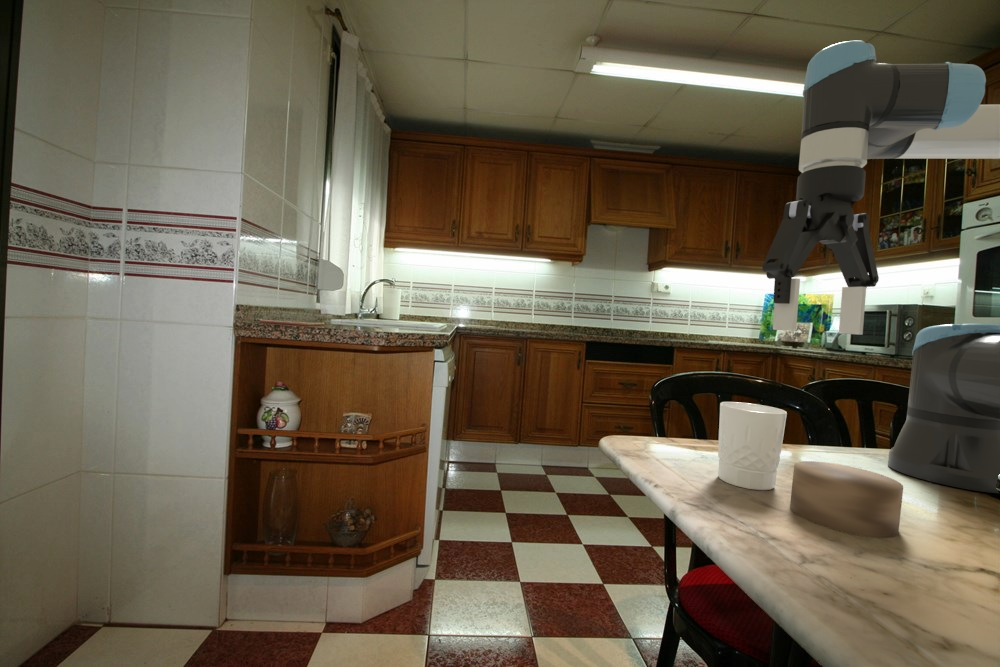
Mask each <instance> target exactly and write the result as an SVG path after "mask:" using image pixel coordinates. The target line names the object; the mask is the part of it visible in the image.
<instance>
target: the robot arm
mask: <svg viewBox="0 0 1000 667" xmlns="http://www.w3.org/2000/svg"><path fill="white" fill-rule="evenodd" d="M876 61H877V55H876V50H875V47H874V45H873V44H872V43H869V42H867V43H866V42H865V41H864V40H849V41H842V42H838V43H835V44H831V45H829V46H827V47H825V48H823V49H821V50H820V51H818V52H817V53H816V54H815V55H813V57H812V58H811V59H810V61H809V62H808V64H807V68H806V73H805V77H804V78H805V79H804V86H803V91H802V96H803V97H802V98H803V100H802V101H803V102H802V118H801V119H802V120H801V122H802V123H801V135H800V149H799V150H800V151H799V162H798V171H799V172H800V174H799V175H798V177H797V181H796V182H797V183H796V197H795V201H790V202H787V203H786V204H785V205H784V210H783V215H782V220H781V223H780V225H779V227H778V229H777V232H776V234H775V236H774V238H773V241H772V243H771V245H770V248H769V250H768V252H767V254H766V257H765V259H764V261H763V264H762V271H763V272H764V273H765V274H766V278H768V279H769V280H771V279H774V286H773V299H772V300H773V303H774V305H773V306H774V307H773V321H772V330H773V331H774V330H775V331H793V332H797V326H798V312H799V299H800V286H801V284H800V283H801V279H800V278H796V277H795V276H796V275H797V273H798V272H799V271H800V269H801V267H802V266H803V265H804V263H805V262H806V261H807V259H808V257H809V256H810V254H811V253H812V252H813V250H814V249H815V247H816V246H817V244H818V243H821V244H822V245H826V247H827V248H828V249H831V251H832V253H833V256H834V258H835V259H836V262H837V264H838V266H839V269H840V271H841V273H842V276H843V279H844V281H845V283H846V285H847V286H842V287H841V288H842V289H841V298H840V299H841V300H840V301H841V302H840V314H839V325H838V334H840V335H842V334H844V335H857V336H858V335H862V336H863V334H864V320H865V310H866V309H865V308H866V297H867V295H866V294H867V289H868V288H869V287H870V288H871V287H872V288H873V287H874V288H875V287H876V286H877V284H878V282H879V279H880V278H879V273H878V268H877V264H876V260H875V259H876V258H875V254H874V249H873V244H872V240H871V235H870V230H869V229H870V226H869V225H870V224H869V223H870V221H869V220H870V216H869V214H868V213H867V212H864V213H863V212H862V213H858V214H857V213H856V214H855V213H854V208H853V206H854V204H855V203H856V202H859V201H860V200H862V198H863V197H864V196H865V186H866V185H865V184H866V174H867V172H866V170H865V169H864V167H865V166H866V165H867V164H868V160H871V159H872V160H875V159H876V160H879V159H880V160H881V159H882V160H883V159H884V160H885V159H887V160H889V159H895V160H896V159H901V160H902V159H906V160H907V159H908V160H909V159H911V160H912V159H914V160H915V159H917V160H918V159H919V160H920V159H921V160H922V159H924V160H925V159H926V160H927V159H928V160H929V159H931V160H932V159H935V160H936V159H944V160H945V159H946V160H947V159H949V160H952V159H955V160H956V159H957V160H958V159H959V160H960V159H961V160H962V159H963V160H966V159H968V160H969V159H971V160H972V159H975V160H980V159H983V160H987V159H989V160H990V159H991V160H992V159H993V160H1000V104H999V103H998V104H997V103H996V104H981V103H982V101H983V99H984V96H985V94H986V83H987V78H986V74H985V72H984V70H983V69H982V68H981V67H980V66H978V65H976V64H972V63H969V64H968V63H953V62H950V61H945V62H937V63H936V62H933V63H930V62H929V63H925V62H924V63H895V64H894V63H893V64H892V63H885V62H883V63H882V62H881V63H880V62H876ZM911 355H912V362H911V363H912V364H911V371H910V372H911V373H910V383H909V391H908V392H909V393H908V402H907V411H906V420H905V422H904V424H903V426H902V428H901V430H900V432H899V434H898V436H897V439H895V440H896V441H895V443H894V446H893V447H891V449H889V451H888V459H887V465H888V467H889V468H891V469H893V470H895V471H897V472H898V473H902V474H904V475H907V476H911V477H914V478H916V479H920V480H923V481H927V482H932V483H935V484H941V485H945V486H950V487H953V488H959V489H965V490H969V491H977V492H983V493H989V494H990V493H992V494H1000V493H999V492H998V490H997V489H996V484H997V480H998V475H999V474H1000V324H995V323H994V324H993V323H960V324H954V323H950V324H949V323H948V324H940V325H939V324H938V325H932V326H928V327H924V328H923V329H920V330H919V331H918V333H917V334H916V336H915V340H914V345H913V349H912V350H911Z"/></svg>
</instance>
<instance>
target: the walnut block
mask: <svg viewBox="0 0 1000 667" xmlns="http://www.w3.org/2000/svg"><path fill="white" fill-rule="evenodd" d="M792 471H793V472H792V473H793V474H792V482H791V484H792V485H791V493H790V502H789V509H790V510H791V511H792V512H793V513H794V514H795V515H797V516H799V517H801V518H802V519H805V521H808V522H810V523H813V524H815V525H818V526H821V527H822V528H827V529H830V530H833V531H837V532H840V533H844V534H848V535H854V536H859V537H865V538H873V539H875V538H876V539H880V538H881V539H887V538H893V537H896V536H898V535H899V530H900V522H901V511H902V503H903V494H904V485H903V484H902V483H901V482H900V481H898V480H896V479H893V478H891V477H888V476H886V475H883V474H880V473H877V472H874V471H871V470H867V469H862V468H859V467H854V466H850V465H845V464H838V463H834V462H833V463H830V462H825V461H814V460H813V461H812V460H808V461H807V460H806V461H805V460H804V461H797V462H795V463H794V464H793V470H792Z"/></svg>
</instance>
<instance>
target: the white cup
mask: <svg viewBox="0 0 1000 667" xmlns="http://www.w3.org/2000/svg"><path fill="white" fill-rule="evenodd" d="M787 415H788V413H787V411H786V410H784V409H781V408H778V407H773V406H769V405H765V404H764V405H762V404H759V403H749V402H740V401H739V402H738V401H721V402H720V403H719V425H718V427H719V428H718V448H717V449H718V451H717V452H718V453H717V454H718V468H717V469H718V472H717V475H718V478H719V479H720V480H721V481H723V482H724V483H726V484H729V485H732V486H735V487H739V488H743V489H747V490H755V491H756V490H757V491H768V490H769V491H771V490H772V489H775V486H776V480H777V473H778V471H777V469H778V468H779V464H780V460H781V459H780V455H781V453H782V448H783V440H784V434H785V427H786V423H787V422H786V421H787Z"/></svg>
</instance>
